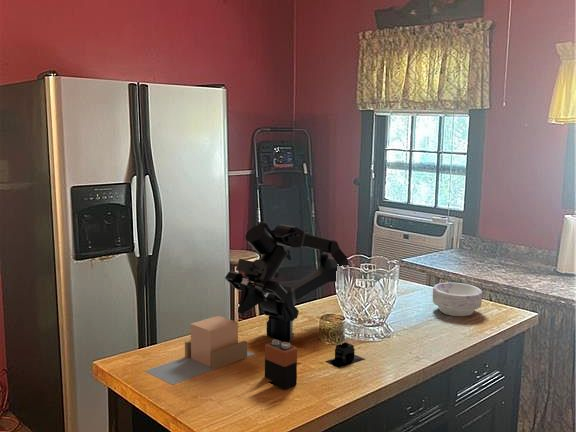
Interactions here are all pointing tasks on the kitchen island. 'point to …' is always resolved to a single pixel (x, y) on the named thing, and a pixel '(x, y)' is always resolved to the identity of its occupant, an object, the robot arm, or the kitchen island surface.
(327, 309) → the kitchen island surface
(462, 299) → the white marble bowl
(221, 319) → the block
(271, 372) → the battery
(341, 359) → the black rectangular piece
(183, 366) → the chute
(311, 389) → the kitchen island surface
